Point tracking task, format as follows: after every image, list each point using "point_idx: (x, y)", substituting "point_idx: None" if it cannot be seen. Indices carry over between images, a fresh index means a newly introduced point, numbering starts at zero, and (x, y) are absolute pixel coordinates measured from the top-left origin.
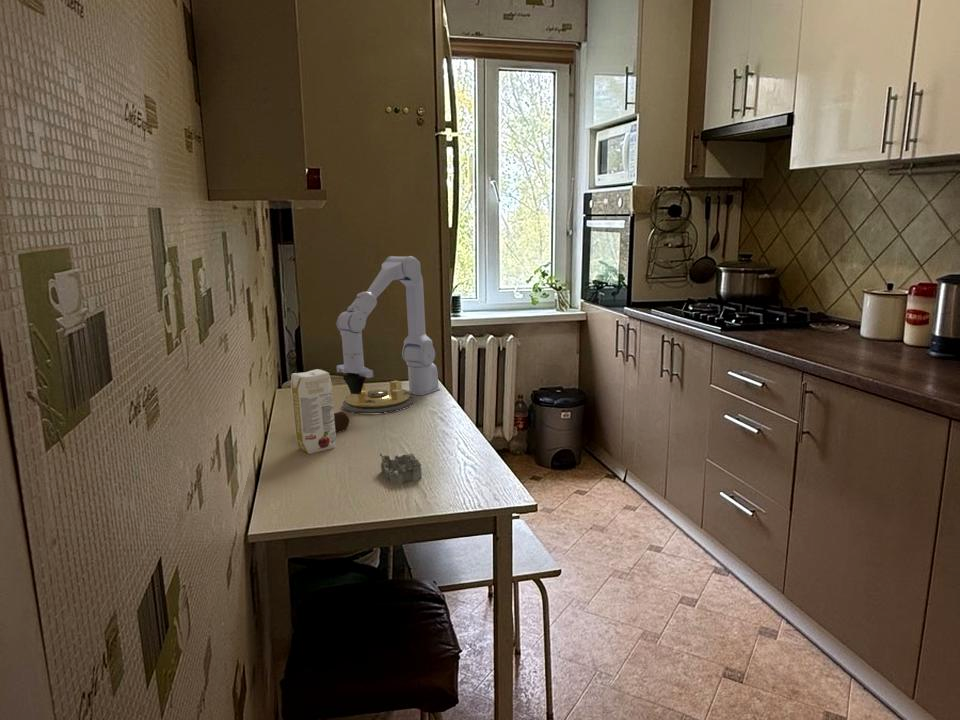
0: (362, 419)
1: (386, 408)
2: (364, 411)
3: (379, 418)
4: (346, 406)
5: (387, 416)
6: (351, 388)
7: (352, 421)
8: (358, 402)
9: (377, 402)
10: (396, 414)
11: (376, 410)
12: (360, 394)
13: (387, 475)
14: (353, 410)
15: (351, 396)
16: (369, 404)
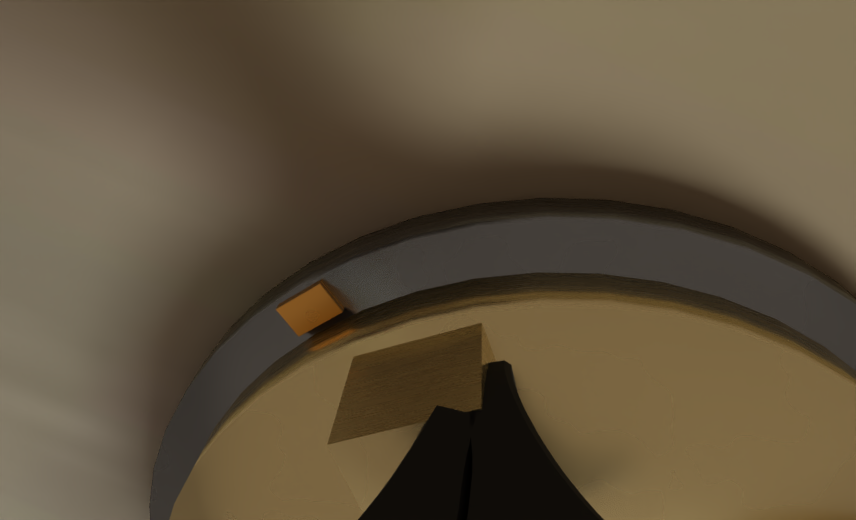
0: (58, 181)
1: (169, 505)
2: (254, 313)
3: (8, 333)
4: (594, 236)
5: (45, 416)
6: (455, 473)
7: (27, 42)
8: (356, 357)
9: (216, 510)
10: (73, 497)
11: (176, 412)
12: (348, 475)
13: None
14: (393, 238)
15: (783, 436)
16: (225, 421)
